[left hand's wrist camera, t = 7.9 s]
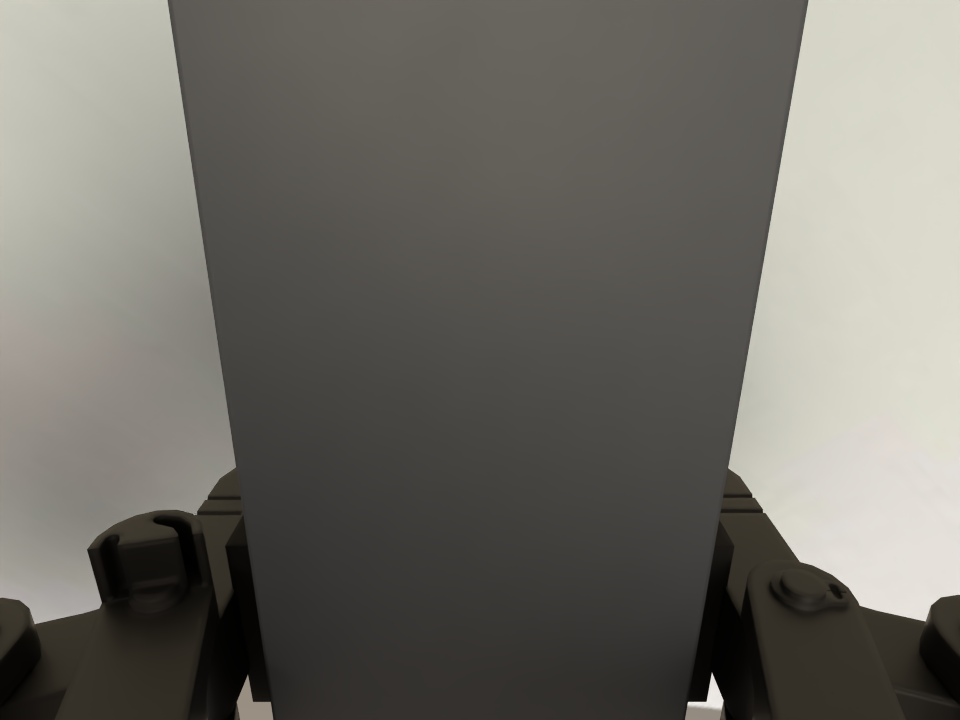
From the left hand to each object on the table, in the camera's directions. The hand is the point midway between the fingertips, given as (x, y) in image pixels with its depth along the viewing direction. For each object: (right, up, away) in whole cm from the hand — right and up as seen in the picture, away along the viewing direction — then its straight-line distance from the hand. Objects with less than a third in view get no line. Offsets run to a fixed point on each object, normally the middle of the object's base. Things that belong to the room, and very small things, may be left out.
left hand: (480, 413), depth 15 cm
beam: (0, +32, -12) cm, 34 cm away
